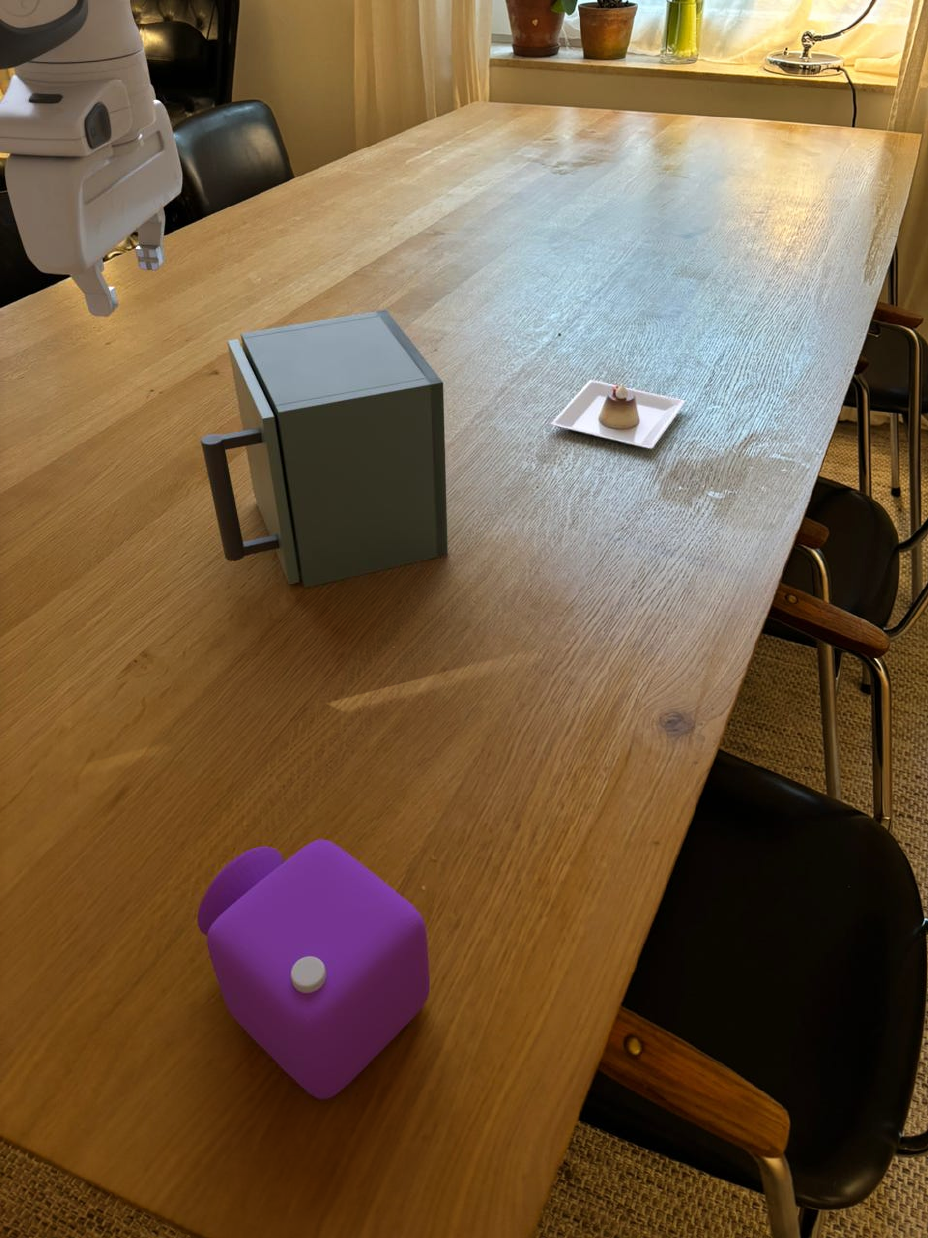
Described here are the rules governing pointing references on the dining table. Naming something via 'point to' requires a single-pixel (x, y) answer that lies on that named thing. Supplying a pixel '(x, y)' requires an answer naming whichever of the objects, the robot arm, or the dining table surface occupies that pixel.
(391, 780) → the dining table surface
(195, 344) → the dining table surface
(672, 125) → the dining table surface
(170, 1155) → the dining table surface
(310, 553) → the housing
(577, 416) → the dessert
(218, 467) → the door
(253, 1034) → the toy camera
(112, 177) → the robot arm
